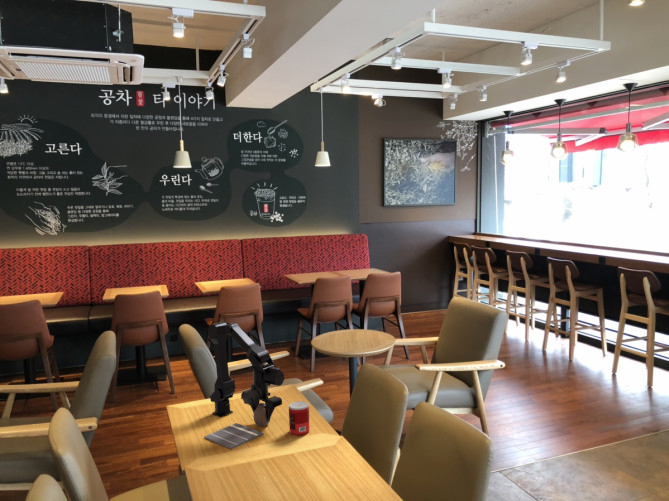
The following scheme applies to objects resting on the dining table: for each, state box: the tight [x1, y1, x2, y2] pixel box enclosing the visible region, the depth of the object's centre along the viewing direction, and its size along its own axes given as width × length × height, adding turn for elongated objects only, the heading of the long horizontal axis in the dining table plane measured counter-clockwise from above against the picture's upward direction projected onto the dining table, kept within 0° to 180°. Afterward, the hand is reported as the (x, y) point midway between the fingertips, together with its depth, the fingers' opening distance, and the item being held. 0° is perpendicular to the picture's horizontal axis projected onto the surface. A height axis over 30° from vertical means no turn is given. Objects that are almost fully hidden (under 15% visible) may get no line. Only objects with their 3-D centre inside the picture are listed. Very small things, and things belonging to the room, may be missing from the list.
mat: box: [203, 422, 264, 450], centre depth 204 cm, size 16×16×1 cm
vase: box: [253, 402, 271, 428], centre depth 214 cm, size 7×7×9 cm
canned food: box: [288, 400, 310, 437], centre depth 206 cm, size 8×8×11 cm
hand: (262, 418), depth 214 cm, fingers closed on vase, 7 cm apart
